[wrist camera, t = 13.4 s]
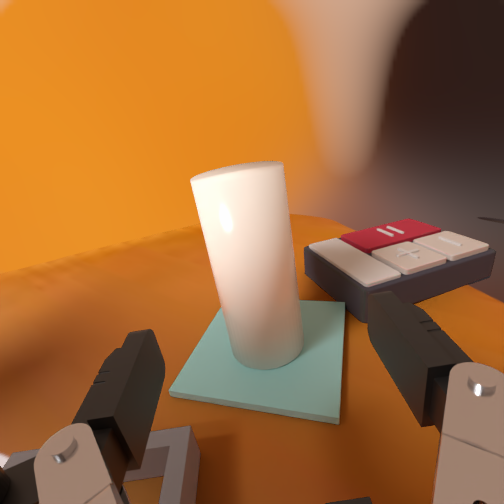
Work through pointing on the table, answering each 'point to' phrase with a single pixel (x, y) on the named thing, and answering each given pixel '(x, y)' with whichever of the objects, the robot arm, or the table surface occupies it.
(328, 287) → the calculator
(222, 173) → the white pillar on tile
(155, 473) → the holder
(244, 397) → the coaster pad
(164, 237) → the table surface
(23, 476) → the robot arm
